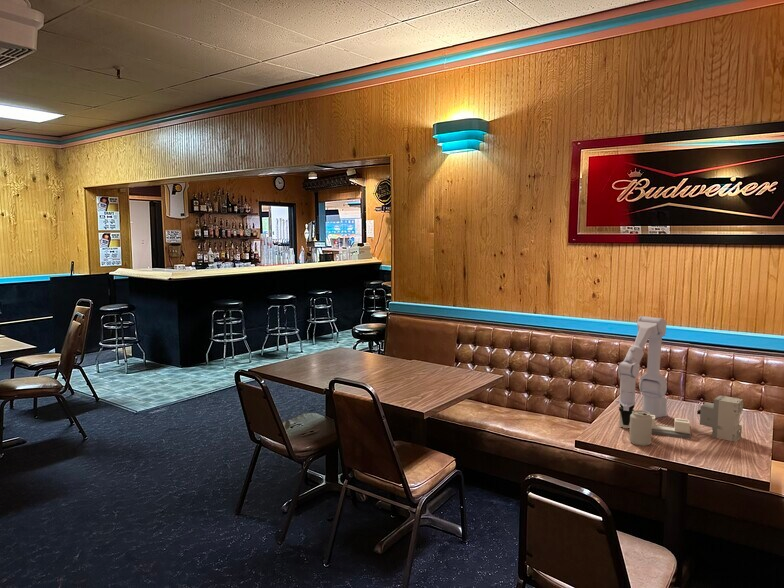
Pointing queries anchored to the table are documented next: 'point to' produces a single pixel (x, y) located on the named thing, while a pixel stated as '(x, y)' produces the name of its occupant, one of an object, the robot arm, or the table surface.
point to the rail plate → (673, 428)
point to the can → (640, 428)
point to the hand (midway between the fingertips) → (626, 423)
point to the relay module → (622, 423)
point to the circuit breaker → (723, 417)
